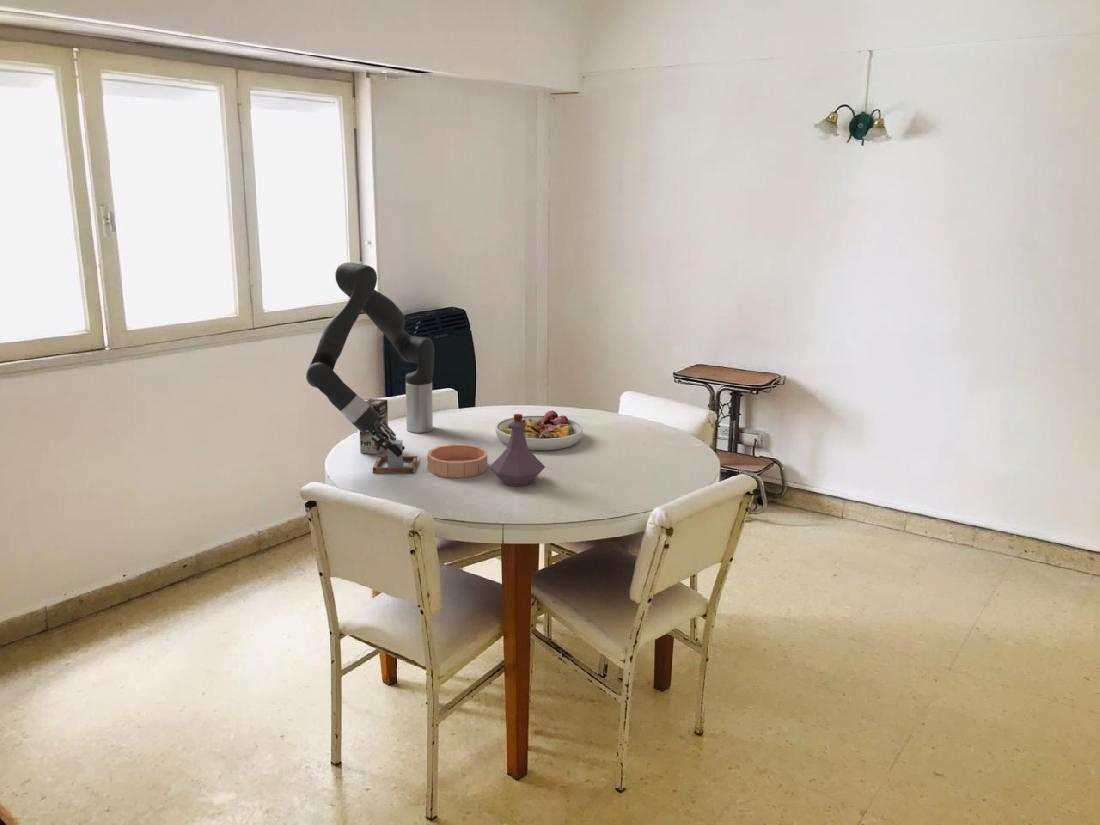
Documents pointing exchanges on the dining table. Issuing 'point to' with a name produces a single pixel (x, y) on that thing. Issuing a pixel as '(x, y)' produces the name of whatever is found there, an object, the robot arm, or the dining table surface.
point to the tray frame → (395, 469)
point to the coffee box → (365, 438)
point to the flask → (517, 458)
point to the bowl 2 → (543, 431)
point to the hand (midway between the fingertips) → (401, 452)
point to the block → (392, 458)
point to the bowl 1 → (457, 461)
